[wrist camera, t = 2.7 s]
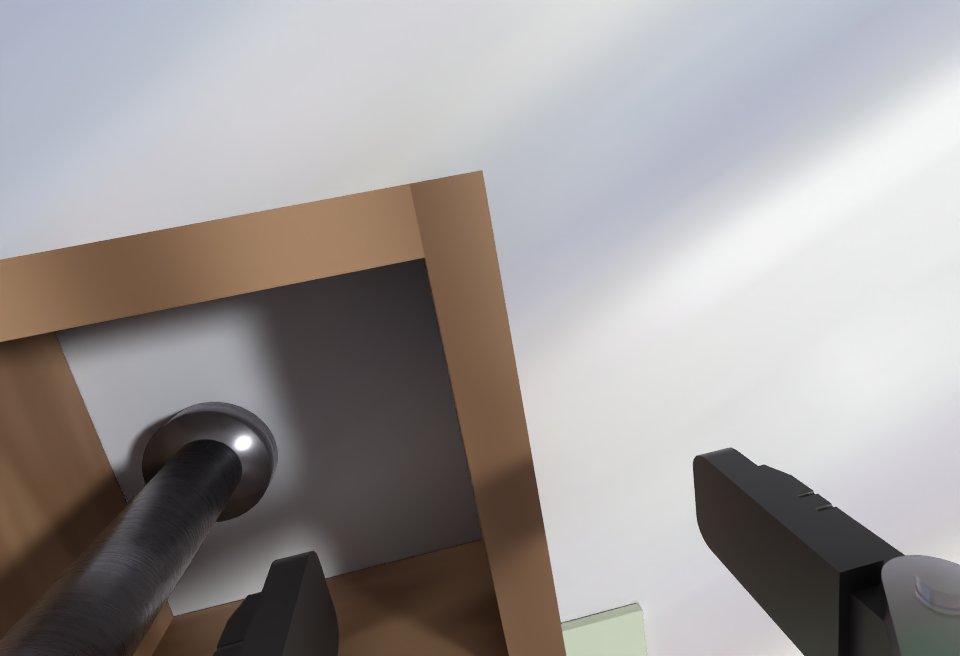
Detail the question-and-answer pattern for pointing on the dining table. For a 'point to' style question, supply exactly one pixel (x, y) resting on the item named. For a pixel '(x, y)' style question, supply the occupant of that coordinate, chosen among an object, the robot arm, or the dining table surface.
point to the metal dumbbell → (152, 535)
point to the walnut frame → (252, 267)
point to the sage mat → (607, 633)
